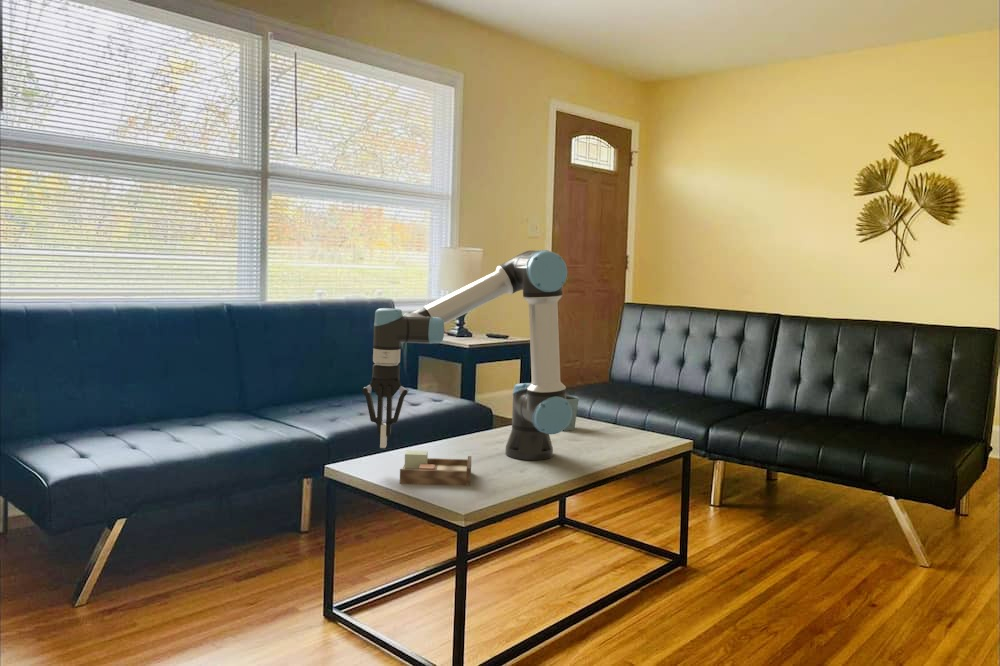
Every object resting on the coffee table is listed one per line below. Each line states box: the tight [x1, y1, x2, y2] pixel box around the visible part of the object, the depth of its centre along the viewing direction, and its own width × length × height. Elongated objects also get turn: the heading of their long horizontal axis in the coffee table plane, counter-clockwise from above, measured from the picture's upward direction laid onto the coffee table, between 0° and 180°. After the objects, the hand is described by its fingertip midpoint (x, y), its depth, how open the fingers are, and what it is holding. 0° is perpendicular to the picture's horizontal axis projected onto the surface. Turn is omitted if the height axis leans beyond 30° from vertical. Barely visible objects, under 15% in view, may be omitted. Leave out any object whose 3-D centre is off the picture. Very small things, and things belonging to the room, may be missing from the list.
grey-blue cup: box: [563, 394, 580, 432], centre depth 286 cm, size 10×10×12 cm
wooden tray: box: [399, 455, 472, 487], centre depth 215 cm, size 19×13×5 cm
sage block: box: [404, 449, 429, 469], centre depth 218 cm, size 6×4×4 cm
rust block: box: [419, 464, 435, 470], centre depth 213 cm, size 4×4×4 cm
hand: (383, 446), depth 217 cm, fingers closed
